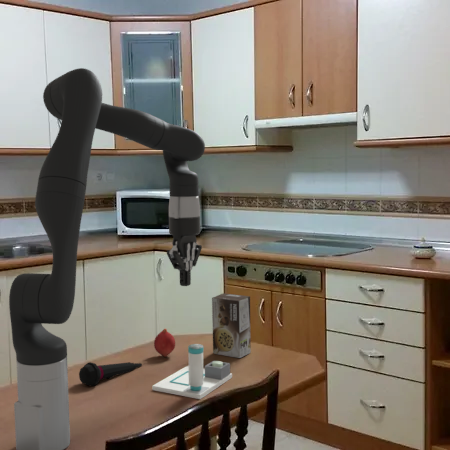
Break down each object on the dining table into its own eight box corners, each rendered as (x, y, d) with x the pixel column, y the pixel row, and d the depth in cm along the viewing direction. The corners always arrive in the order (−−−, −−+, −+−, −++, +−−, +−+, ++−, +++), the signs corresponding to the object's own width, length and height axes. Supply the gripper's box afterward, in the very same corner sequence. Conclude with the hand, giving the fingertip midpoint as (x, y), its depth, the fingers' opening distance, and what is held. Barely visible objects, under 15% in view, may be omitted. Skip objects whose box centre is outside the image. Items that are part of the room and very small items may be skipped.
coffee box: (251, 352, 179) (251, 296, 178) (239, 358, 174) (239, 300, 172) (224, 347, 184) (223, 292, 182) (211, 353, 179) (211, 296, 177)
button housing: (221, 380, 155) (221, 368, 154) (204, 377, 157) (204, 366, 157) (230, 374, 159) (230, 363, 159) (213, 371, 161) (213, 360, 161)
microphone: (135, 376, 170) (76, 389, 154) (132, 355, 171) (72, 365, 155) (150, 374, 167) (90, 387, 151) (146, 352, 168) (87, 362, 152)
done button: (219, 374, 156) (219, 365, 156) (210, 373, 157) (210, 363, 157) (224, 371, 158) (224, 361, 158) (215, 369, 160) (215, 360, 159)
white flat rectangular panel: (200, 399, 145) (200, 394, 145) (152, 389, 151) (152, 384, 151) (232, 377, 160) (232, 372, 159) (187, 369, 165) (187, 365, 165)
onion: (150, 359, 174) (150, 330, 173) (159, 352, 180) (158, 324, 179) (170, 360, 173) (170, 331, 172) (178, 354, 178) (178, 326, 177)
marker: (199, 392, 146) (199, 349, 145) (185, 390, 148) (185, 347, 146) (206, 387, 150) (206, 345, 148) (192, 384, 151) (192, 343, 150)
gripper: (185, 212, 163) (186, 279, 164) (156, 216, 151) (157, 288, 153) (211, 213, 159) (211, 282, 161) (183, 217, 148) (183, 291, 149)
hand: (185, 285), depth 157 cm, fingers closed
